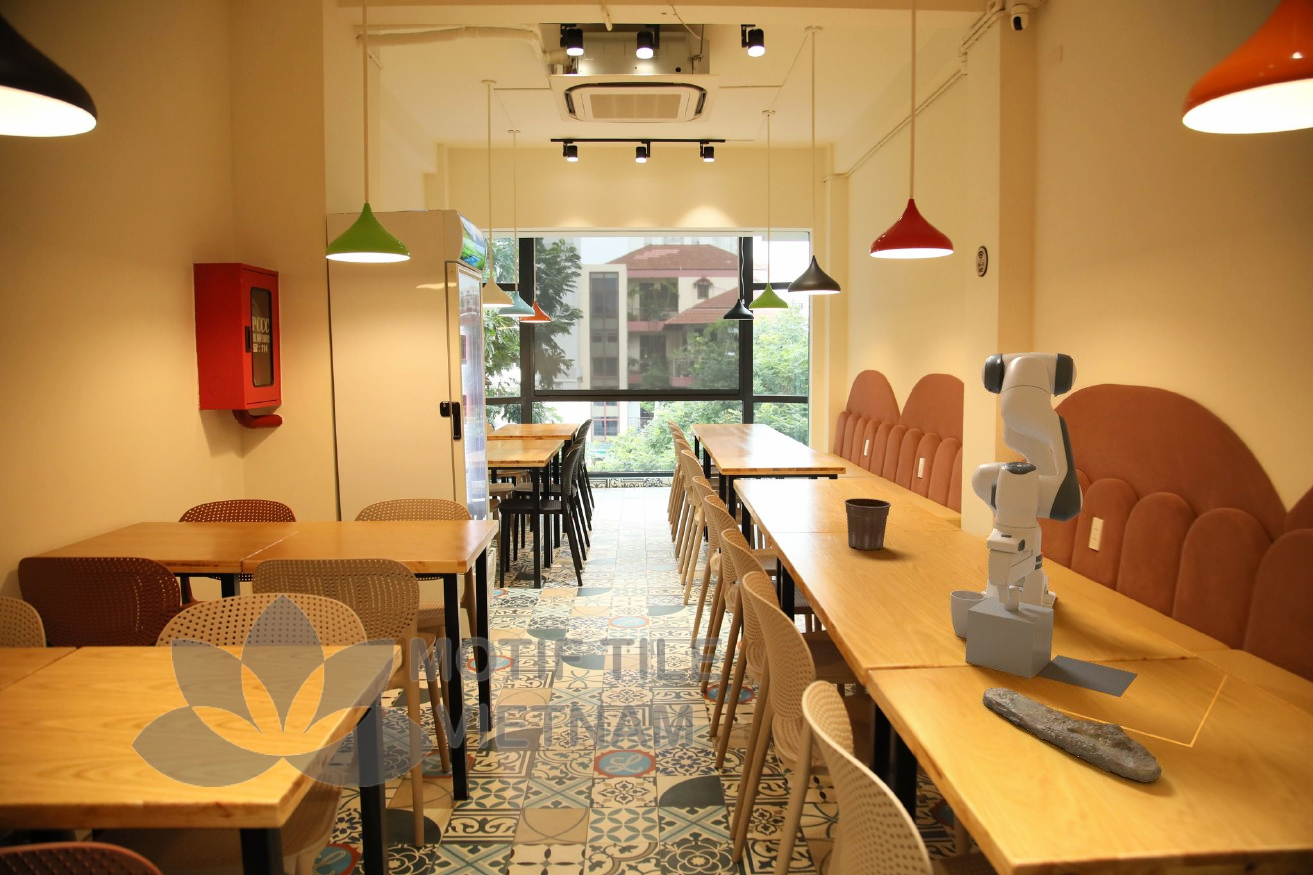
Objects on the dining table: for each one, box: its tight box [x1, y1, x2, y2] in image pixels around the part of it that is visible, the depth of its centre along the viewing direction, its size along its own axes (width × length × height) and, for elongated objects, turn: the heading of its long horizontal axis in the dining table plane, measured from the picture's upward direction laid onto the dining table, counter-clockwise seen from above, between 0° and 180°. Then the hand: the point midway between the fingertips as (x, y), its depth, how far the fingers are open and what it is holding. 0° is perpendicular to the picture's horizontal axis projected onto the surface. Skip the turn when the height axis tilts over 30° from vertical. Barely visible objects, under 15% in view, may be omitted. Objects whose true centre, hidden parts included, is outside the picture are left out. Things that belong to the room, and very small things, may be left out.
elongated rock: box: [982, 687, 1162, 783], centre depth 144 cm, size 35×5×10 cm
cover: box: [965, 586, 1055, 680], centre depth 178 cm, size 14×14×17 cm
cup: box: [949, 589, 987, 639], centre depth 197 cm, size 8×8×10 cm
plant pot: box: [844, 497, 892, 551], centre depth 288 cm, size 16×16×16 cm
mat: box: [1035, 654, 1139, 698], centre depth 172 cm, size 16×16×1 cm
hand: (1011, 598), depth 178 cm, fingers open, 8 cm apart
